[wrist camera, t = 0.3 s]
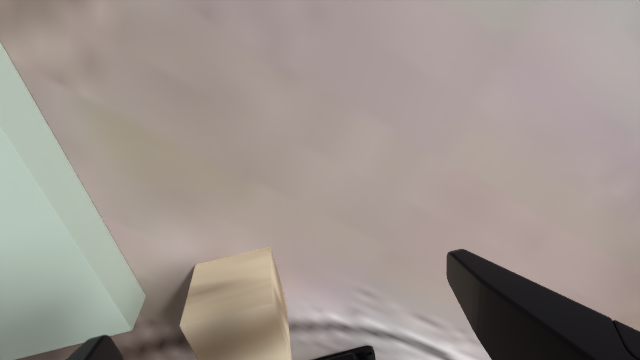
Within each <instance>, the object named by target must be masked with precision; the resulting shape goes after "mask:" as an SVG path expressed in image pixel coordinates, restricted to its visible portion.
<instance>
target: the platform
mask: <svg viewBox="0 0 640 360" xmlns="http://www.w3.org/2000/svg"><path fill="white" fill-rule="evenodd" d="M145 298H146V295H145V294H144V292H143V290H142V289H141V287H140V285H139V283H138V282H137V280H136V278H135V276H134V275H133V273H132V271H131V269H130V268H129V266H128V264H127V262H126V261H125V259H124V257H123V255H122V254H121V252H120V250H119V248H118V247H117V245H116V243H115V241H114V240H113V238H112V236H111V234H110V233H109V231H108V229H107V227H106V226H105V224H104V222H103V220H102V219H101V217H100V215H99V214H98V212H97V210H96V208H95V207H94V205H93V203H92V201H91V200H90V198H89V196H88V194H87V193H86V191H85V189H84V187H83V186H82V184H81V182H80V180H79V179H78V177H77V175H76V173H75V172H74V170H73V168H72V166H71V165H70V163H69V161H68V159H67V158H66V156H65V154H64V152H63V151H62V149H61V147H60V145H59V144H58V142H57V140H56V139H55V137H54V135H53V133H52V132H51V130H50V128H49V126H48V125H47V123H46V121H45V119H44V118H43V116H42V114H41V112H40V111H39V109H38V107H37V105H36V104H35V102H34V100H33V98H32V97H31V95H30V93H29V91H28V90H27V88H26V86H25V84H24V83H23V81H22V79H21V77H20V76H19V74H18V72H17V71H16V69H15V67H14V65H13V64H12V62H11V60H10V58H9V57H8V55H7V53H6V51H5V50H4V48H3V46H2V44H1V43H0V360H16V359H20V358H24V357H28V356H32V355H36V354H40V353H44V352H48V351H52V350H56V349H60V348H64V347H68V346H72V345H76V344H80V343H84V342H85V341H87V340H88V339H90V338H92V337H97V336H101V335H108V336H112V335H116V334H120V333H124V332H128V331H132V330H133V327H134V325H135V322H136V320H137V318H138V315H139V313H140V310H141V308H142V305H143V303H144V300H145Z"/></svg>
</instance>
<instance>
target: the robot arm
mask: <svg viewBox="0 0 640 360" xmlns="http://www.w3.org/2000/svg"><path fill="white" fill-rule="evenodd" d="M447 279H448V282H449V285H450V286H451V288H452V290H453V292H454V294H455V296H456V298H457V300H458V302H459V304H460V306H461V308H462V310H463V311H464V313H465V315H466V317H467V319H468V321H469V323H470V325H471V327H472V329H473V331H474V332H475V334H476V336H477V337H478V339H479V341H480V342H481V344H482V345H483V347H484V348H485V350H486V351H487V353H488V354H489V356H490V358H491V359H492V360H640V331H638V330H635V329H633V328H631V327H629V326H627V325H625V324H623V323H620V322H618V321H616V320H613V321H612V319H611V318H609V317H607V316H605V315H603V314H601V313H599V312H597V311H595V310H592V309H590V308H588V307H586V306H584V305H582V304H580V303H578V302H575V301H573V300H571V299H569V298H567V297H565V296H563V295H561V294H558V293H556V292H554V291H552V290H550V289H548V288H546V287H543V286H541V285H539V284H537V283H535V282H533V281H531V280H529V279H526V278H524V277H522V276H520V275H518V274H516V273H514V272H512V271H509V270H507V269H505V268H503V267H501V266H499V265H497V264H494V263H492V262H490V261H488V260H486V259H484V258H482V257H480V256H477V255H475V254H473V253H471V252H469V251H467V250H464V249H458V250H454V251H450V252H448V254H447ZM66 360H123V357H122V354H121V353H120V351H119V349H118V348H117V346H116V345H115V343H114V342H113V340H112V339H111V337H110V336H108V335H101V336H97V337H92V338H90V339H88V340H87V341H85V342H84V343H83V344H82V345H81V346H80V347H79V348H78V349H77V350H76V351H75V352H74V353H72V354H71V355H70V356H69V357H68V358H67V359H66ZM317 360H375V353H374V349H373V347H372V346H367V347H363V348H359V349H355V350H351V351H348V352H344V353H340V354H336V355H333V356H329V357H325V358H321V359H317Z"/></svg>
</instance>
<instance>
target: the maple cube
mask: <svg viewBox="0 0 640 360" xmlns="http://www.w3.org/2000/svg"><path fill="white" fill-rule="evenodd" d="M180 328H181V330H182V332H183V334H184V335H185V337H186V339H187V341H188V343H189V345H190V347H191V348H192V350H193V352H194V354H195V356H196V358H197V360H292V359H291V348H290V338H289V327H288V317H287V306H286V298H285V295H284V291H283V288H282V285H281V282H280V278H279V275H278V272H277V268H276V265H275V262H274V258H273V255H272V252H271V248H270V247H267V248H263V249H258V250H254V251H250V252H246V253H242V254H237V255H233V256H229V257H225V258H221V259H216V260H212V261H208V262H204V263H200V264H196V265H195V268H194V272H193V276H192V280H191V284H190V288H189V292H188V296H187V299H186V303H185V307H184V311H183V315H182V319H181V323H180Z"/></svg>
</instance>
